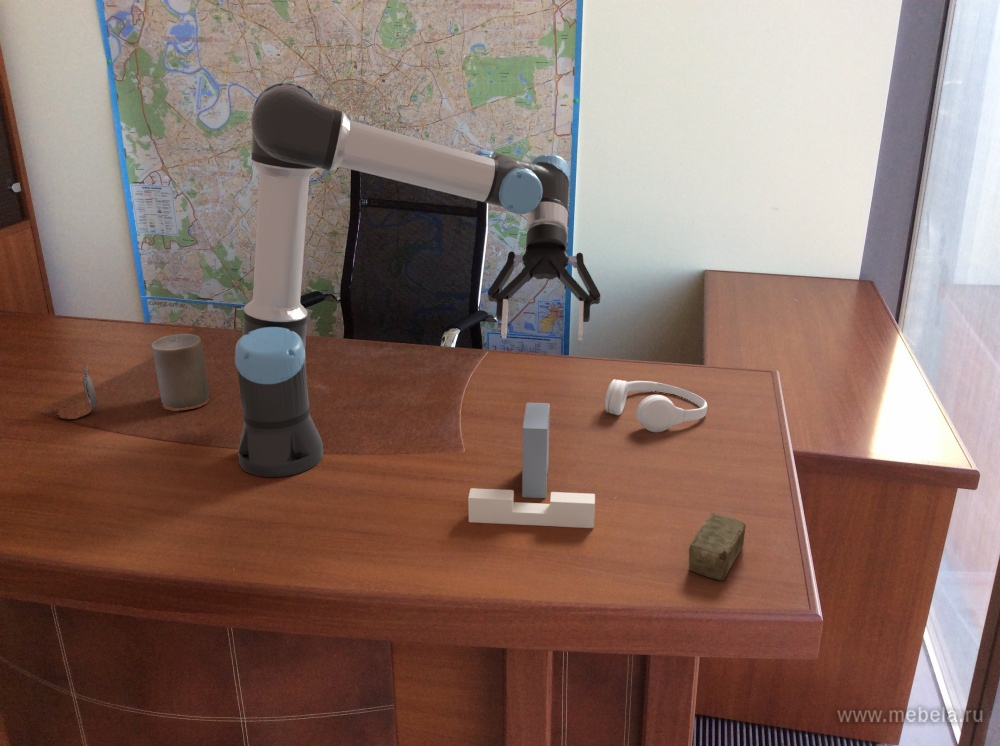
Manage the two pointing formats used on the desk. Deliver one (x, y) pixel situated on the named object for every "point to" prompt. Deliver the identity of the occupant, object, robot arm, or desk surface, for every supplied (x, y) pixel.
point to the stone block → (716, 546)
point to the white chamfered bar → (531, 509)
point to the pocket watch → (89, 389)
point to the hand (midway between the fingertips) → (541, 336)
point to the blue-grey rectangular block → (535, 450)
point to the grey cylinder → (180, 370)
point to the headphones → (654, 404)
